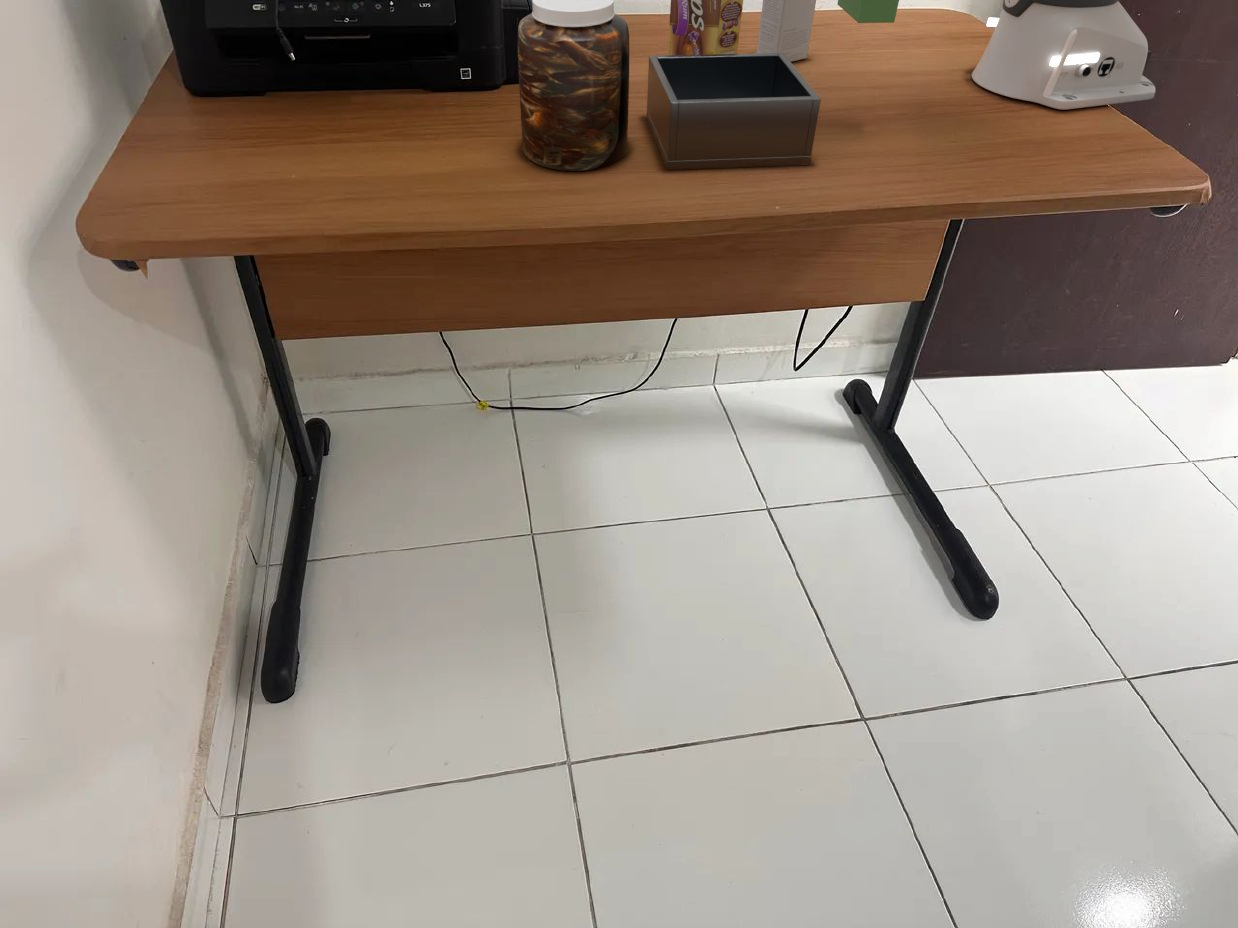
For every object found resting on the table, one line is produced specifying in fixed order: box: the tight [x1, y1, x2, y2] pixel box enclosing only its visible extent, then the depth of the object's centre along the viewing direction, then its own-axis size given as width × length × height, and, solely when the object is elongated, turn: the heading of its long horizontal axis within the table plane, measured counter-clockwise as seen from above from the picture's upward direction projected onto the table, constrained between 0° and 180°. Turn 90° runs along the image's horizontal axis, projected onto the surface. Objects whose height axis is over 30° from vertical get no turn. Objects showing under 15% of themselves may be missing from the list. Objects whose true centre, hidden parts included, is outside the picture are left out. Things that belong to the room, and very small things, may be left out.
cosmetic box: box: [756, 0, 817, 63], centre depth 115 cm, size 6×4×12 cm
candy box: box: [667, 0, 744, 55], centre depth 107 cm, size 9×4×15 cm, turn 39°
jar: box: [517, 0, 631, 172], centre depth 90 cm, size 12×12×15 cm
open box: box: [646, 52, 822, 171], centre depth 95 cm, size 16×15×7 cm
